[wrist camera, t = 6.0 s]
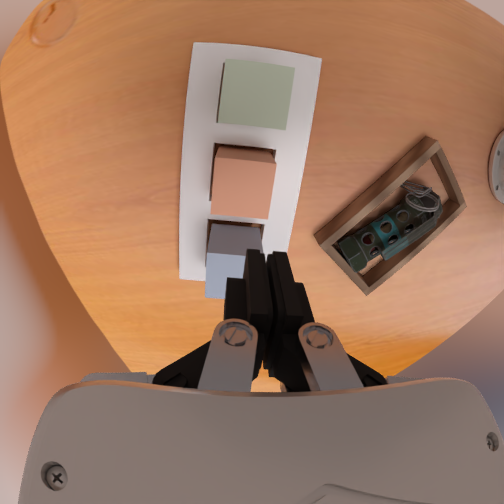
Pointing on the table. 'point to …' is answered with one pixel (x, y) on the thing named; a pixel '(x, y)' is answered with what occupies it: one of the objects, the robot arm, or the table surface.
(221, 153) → the terracotta block
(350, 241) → the stun grenade
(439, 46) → the table surface
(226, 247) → the slate block
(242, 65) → the sage block
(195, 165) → the board
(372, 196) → the grenade cradle
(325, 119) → the table surface
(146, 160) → the table surface
